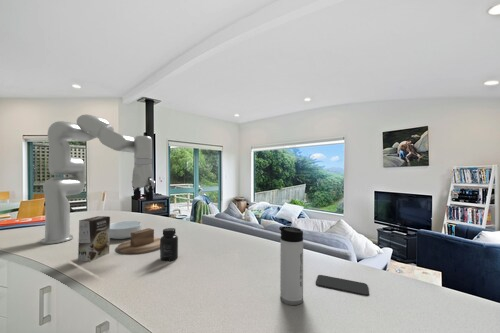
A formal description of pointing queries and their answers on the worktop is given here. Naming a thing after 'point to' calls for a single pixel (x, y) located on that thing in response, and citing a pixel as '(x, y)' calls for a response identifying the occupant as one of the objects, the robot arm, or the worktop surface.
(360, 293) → the phone
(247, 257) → the worktop surface
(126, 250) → the lid
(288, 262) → the travel mug
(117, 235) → the cereal bowl
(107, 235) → the coffee box
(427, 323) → the worktop surface
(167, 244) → the supplement bottle
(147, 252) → the tray
